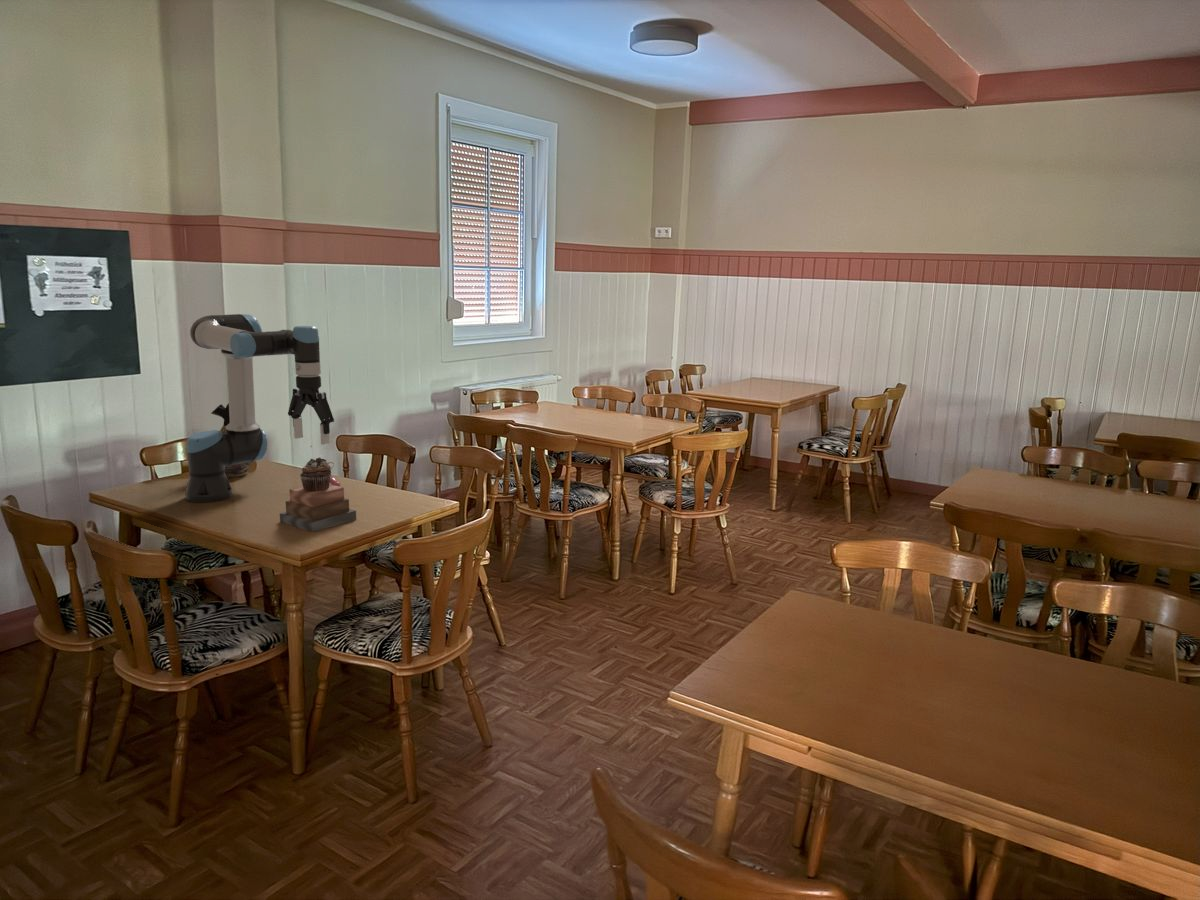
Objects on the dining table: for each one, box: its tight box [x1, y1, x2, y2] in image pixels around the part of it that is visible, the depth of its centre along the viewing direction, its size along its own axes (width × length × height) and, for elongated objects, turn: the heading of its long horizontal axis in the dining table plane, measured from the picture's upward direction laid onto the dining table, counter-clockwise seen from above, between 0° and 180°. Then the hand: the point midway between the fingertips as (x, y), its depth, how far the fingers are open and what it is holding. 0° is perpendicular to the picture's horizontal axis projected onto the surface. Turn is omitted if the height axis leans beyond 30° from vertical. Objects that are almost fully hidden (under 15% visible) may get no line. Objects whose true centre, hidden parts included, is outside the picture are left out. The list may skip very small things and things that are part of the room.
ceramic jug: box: [210, 402, 253, 478], centre depth 324 cm, size 17×15×30 cm
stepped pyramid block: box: [279, 483, 357, 533], centre depth 270 cm, size 17×17×11 cm
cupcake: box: [299, 457, 332, 492], centre depth 268 cm, size 10×10×10 cm
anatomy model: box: [327, 461, 342, 487], centre depth 297 cm, size 11×15×17 cm
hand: (311, 440), depth 266 cm, fingers open, 13 cm apart
